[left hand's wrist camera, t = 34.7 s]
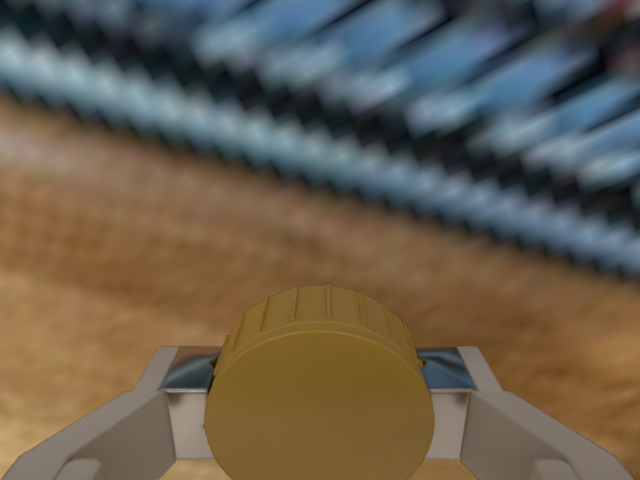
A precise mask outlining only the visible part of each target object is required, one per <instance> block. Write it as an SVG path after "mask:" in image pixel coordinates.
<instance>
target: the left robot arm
mask: <svg viewBox="0 0 640 480" xmlns="http://www.w3.org/2000/svg"><path fill="white" fill-rule="evenodd" d="M414 348H415V351H416V354H417V357H418V359H421V360H422V362H423V365H424V367H423V368H422V372H423V375H424V378H425V381H426V384H427V387H428V390H429V393H430V396H431V399H432V403H433V408H434V414H435V427H434V433H433V439H432V442H431V445H430V448H429V451H428V452H427V454H426V456H425V458H424V459H454V460H461V463H462V464H463V465H464V466H465V467H466V468H467V469H468V470H469V471H470V472H471V473H472V474H473V475H474V476H475V477H476V478H477V479H478V480H634V479H633V478H632V477H631V475H630V474H629V473H628V471H627V470H626V469H625V467H624V466H623V465H622V463H621V462H620V461H619V459H618V458H617V457H616V456H614V455H613V454H611V453H609V452H608V451H606V450H605V449H603V448H601V447H600V446H598V445H596V444H595V443H593V442H592V441H590V440H588V439H587V438H585V437H584V436H582V435H580V434H579V433H577V432H575V431H574V430H572V429H571V428H569V427H567V426H566V425H564V424H562V423H561V422H559V421H558V420H556V419H554V418H553V417H551V416H549V415H548V414H546V413H545V412H543V411H541V410H540V409H538V408H537V407H535V406H533V405H532V404H530V403H528V402H527V401H525V400H524V399H522V398H520V397H519V396H517V395H515V394H514V393H512V392H511V391H503V389H502V388H501V386H500V384H499V382H498V381H497V379H496V377H495V375H494V374H493V372H492V370H491V369H490V367H489V365H488V363H487V362H486V360H485V358H484V356H483V355H482V353H481V351H480V349H479V348H478V347H476V346H454V347H414ZM221 350H222V347H204V346H182V347H181V346H161V347H159V348H157V350H156V351H155V353H154V355H153V356H152V358H151V360H150V362H149V363H148V365H147V367H146V368H145V370H144V372H143V374H142V375H141V377H140V379H139V380H138V382H137V384H136V386H135V387H134V389H133V391H125V392H124V393H122V394H120V395H119V396H117V397H115V398H114V399H112V400H110V401H109V402H107V403H105V404H104V405H102V406H101V407H99V408H97V409H96V410H94V411H92V412H91V413H89V414H87V415H86V416H84V417H83V418H81V419H79V420H78V421H76V422H74V423H73V424H71V425H69V426H68V427H66V428H64V429H63V430H61V431H60V432H58V433H56V434H55V435H53V436H51V437H50V438H48V439H46V440H45V441H43V442H42V443H40V444H38V445H37V446H35V447H33V448H32V449H30V450H28V451H27V452H25V453H23V454H22V455H20V456H19V457H18V458H17V459H16V461H15V462H14V463H13V465H12V466H11V467H10V468H9V470H8V471H7V472H6V474H5V475H4V476H3V477H2V479H1V480H158V479H159V478H160V477H161V476H162V475H163V474H164V473H165V472H166V471H167V470H168V469H169V468H170V467H171V466H172V465H173V464H174V463H175V460H181V459H215V457H214V456H213V454H212V452H211V449H210V447H209V445H208V441H207V437H206V433H205V425H204V414H205V406H206V402H207V398H208V395H209V392H210V389H211V386H212V383H213V380H214V377H215V375H213V372H214V369H215V367H216V364H217V361H218V358H219V355H220V353H221Z"/></svg>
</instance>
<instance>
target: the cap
mask: <svg viewBox="0 0 640 480" xmlns="http://www.w3.org/2000/svg"><path fill="white" fill-rule="evenodd" d="M423 367H424V365H423V362H422V360H421V359H418V357H417V354H416V351H415V348H414V345H413V342H412V339H411V336H410V333H409V330H408V327H407V326H406V325H403V324H402V323H401V322H400V320H399V319H398V318H397V317H396V316H395V315H394V314H393V313H392V312H391V311H390V310H389V308H388V306H386V305H385V306H383V305H382V304H381V303H379V302H377V301H375V300H374V299H372V298H370V297H368V296H366V295H363V294H362V293H361V292H360V291H357V292H356V291H352V290H349V289H345V288H340V287H333V286H330V285H326V286H306V287H299V288H298V286H297V287H294V289H290V290H287V291H284V292H281V293H278V294H275V295H273V296H271V297H268V296H267V297H265V298H264V300H263V301H262V302H260V303H259V304H257V305H256V306H254V307H253V308H252V309H251V310H250V311H249V312H247V313H246V314H244V313H243V314H242V315H241V318H240V321H239V322H238V323H237V324H236V326H235V328H234V329H233V331H232V332H231V334H230V336H228V335H227V336H226V339H225V342H224V344H223V347H222V350H221V353H220V355H219V358H218V361H217V364H216V367H215V369H214V372H213V375H215V377H214V380H213V383H212V386H211V389H210V392H209V395H208V398H207V402H206V406H205V414H204V425H205V433H206V437H207V441H208V445H209V447H210V449H211V452H212V454H213V456H214V457H215V459H216V461H217V462H218V464H219V465H220V467H221V468H222V469H223V470H224V471H225V473H226V474H227V475H228V476H229V477H230V478H231V479H232V480H408V479H409V478H410V477H411V475H412V474H413V473H414V472H415V471H416V470H417V469H418V467H419V466H420V465H421V463H422V462H423V460H424V458H425V456H426V454H427V452H428V451H429V448H430V445H431V442H432V439H433V433H434V427H435V414H434V408H433V403H432V399H431V396H430V393H429V390H428V387H427V384H426V381H425V378H424V375H423V372H422V368H423Z"/></svg>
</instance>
